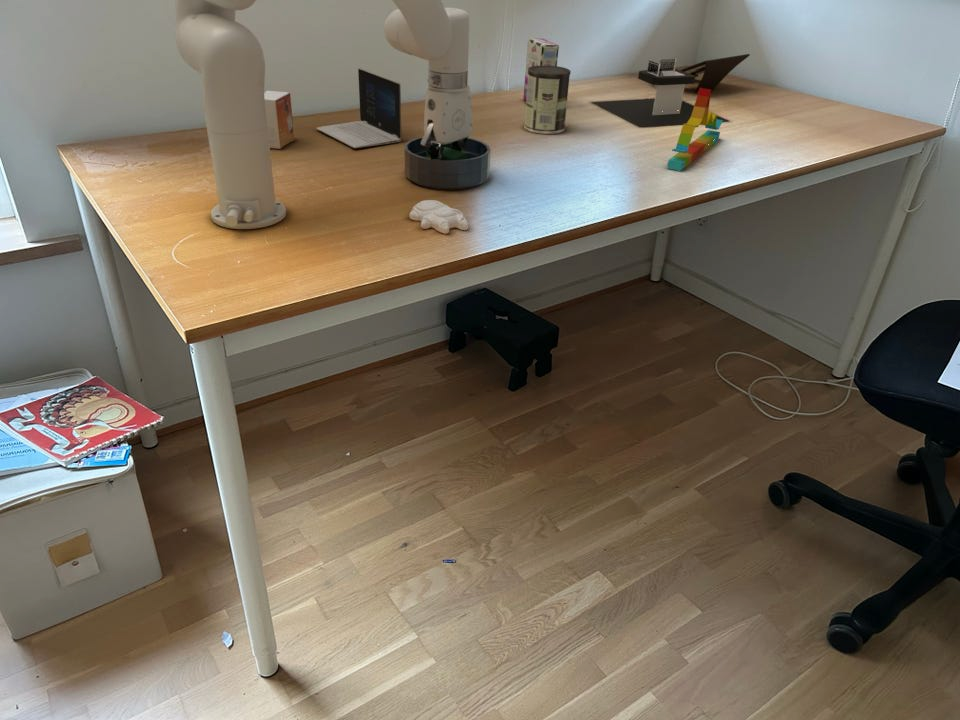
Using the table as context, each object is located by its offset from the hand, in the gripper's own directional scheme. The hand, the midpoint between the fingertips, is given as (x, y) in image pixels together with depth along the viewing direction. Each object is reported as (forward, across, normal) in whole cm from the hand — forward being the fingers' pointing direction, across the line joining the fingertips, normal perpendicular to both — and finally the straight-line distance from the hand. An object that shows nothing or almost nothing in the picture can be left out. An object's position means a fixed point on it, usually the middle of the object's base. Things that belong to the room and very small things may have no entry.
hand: (446, 171), depth 150 cm
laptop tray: (+1, +119, -1) cm, 119 cm away
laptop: (+1, +7, +33) cm, 33 cm away
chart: (+1, +54, -31) cm, 62 cm away
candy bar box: (+1, +64, +21) cm, 67 cm away
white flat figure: (+1, -19, -14) cm, 24 cm away
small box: (+1, -10, +41) cm, 43 cm away
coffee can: (+1, +45, +6) cm, 45 cm away
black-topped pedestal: (+1, +83, -7) cm, 84 cm away
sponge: (0, 0, 0) cm, 0 cm away
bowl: (+1, 0, 0) cm, 1 cm away
